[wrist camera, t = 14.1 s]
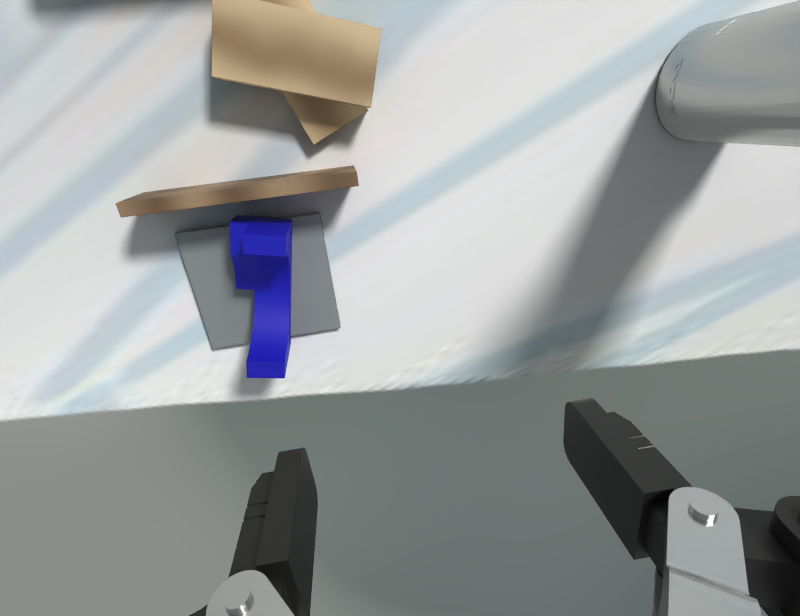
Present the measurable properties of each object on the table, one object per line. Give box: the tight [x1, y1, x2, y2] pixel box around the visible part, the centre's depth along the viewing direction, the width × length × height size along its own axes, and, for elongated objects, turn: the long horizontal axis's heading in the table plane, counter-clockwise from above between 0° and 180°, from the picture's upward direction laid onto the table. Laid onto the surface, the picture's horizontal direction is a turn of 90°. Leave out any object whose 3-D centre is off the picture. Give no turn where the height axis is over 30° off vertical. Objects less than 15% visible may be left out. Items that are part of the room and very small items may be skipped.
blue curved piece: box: [229, 215, 292, 378], centre depth 36 cm, size 12×4×6 cm, turn 174°
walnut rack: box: [116, 166, 359, 217], centre depth 30 cm, size 17×18×5 cm
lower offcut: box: [261, 0, 368, 144], centre depth 32 cm, size 5×11×2 cm, turn 29°
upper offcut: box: [212, 0, 381, 108], centre depth 30 cm, size 5×11×2 cm, turn 80°
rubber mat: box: [175, 213, 340, 349], centre depth 39 cm, size 12×11×1 cm
